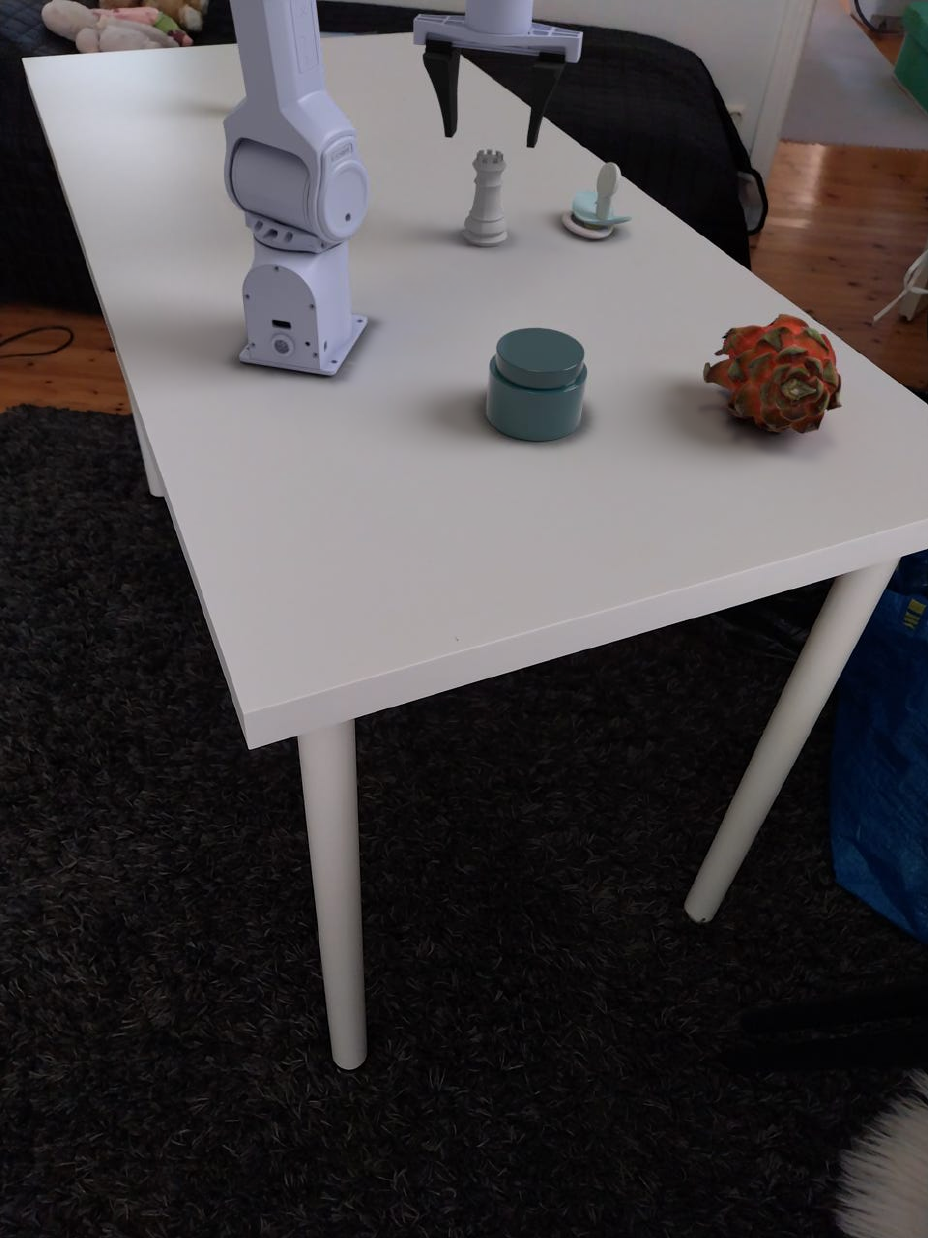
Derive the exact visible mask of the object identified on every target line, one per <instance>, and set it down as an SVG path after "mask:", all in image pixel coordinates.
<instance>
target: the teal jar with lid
mask: <svg viewBox="0 0 928 1238" xmlns="http://www.w3.org/2000/svg"><path fill="white" fill-rule="evenodd" d="M585 354H586V353H585V349H584V347H583V345H582V344H581V342H579V340H577V338H574V336H572V335H570V334H567V333H565V332H564V331H563V332H562V331H560V330H556V329H552V328H545V327H525V328H519V329H514V330H512V331H509V332H507V333H505V334H504V335H503V336H501V337H500V338H499V339H498V341H497V342H496V346H495V353H494V354H493V356H492V357H491V358H490V360H489V365H488V379H487V393H486V409H485V414H486V418H487V419H488V422H489V423H490V424H491V425H492V426H493V427H494V428H495V429H496V430H498V431H499V432H501V434H502V433H503V434H504V435H507V436H509V437H512V438H514V439H519V440H523V441H528V442H529V441H530V442H545V441H546V442H549V441H554V440H558V439H562V438H564V437H567V436H569V435H571V433H573V432H575V430H576V429H577V428H578V427H579V425H580V422H581V418H582V413H583V412H582V411H583V405H584V398H585V391H586V386H587V379H588V368H587V366H586V364H585V362H584V361H585Z"/></svg>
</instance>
